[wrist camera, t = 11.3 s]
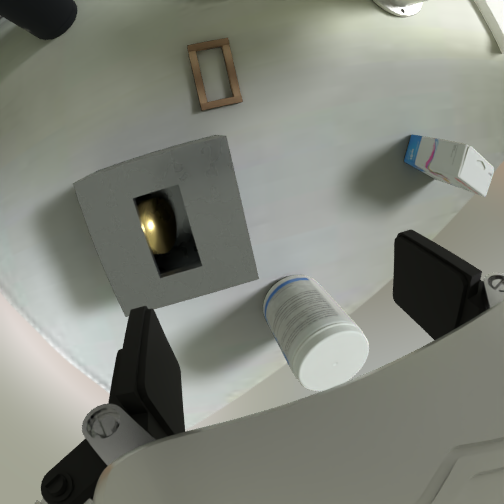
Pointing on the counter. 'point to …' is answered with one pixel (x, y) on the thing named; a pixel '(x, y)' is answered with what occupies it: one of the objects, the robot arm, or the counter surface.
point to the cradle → (230, 69)
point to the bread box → (494, 18)
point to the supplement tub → (314, 333)
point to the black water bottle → (40, 16)
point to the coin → (158, 224)
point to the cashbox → (187, 222)
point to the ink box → (450, 163)
